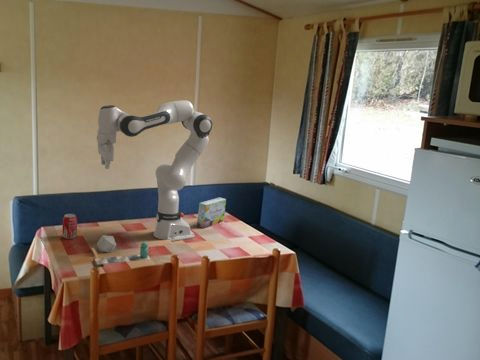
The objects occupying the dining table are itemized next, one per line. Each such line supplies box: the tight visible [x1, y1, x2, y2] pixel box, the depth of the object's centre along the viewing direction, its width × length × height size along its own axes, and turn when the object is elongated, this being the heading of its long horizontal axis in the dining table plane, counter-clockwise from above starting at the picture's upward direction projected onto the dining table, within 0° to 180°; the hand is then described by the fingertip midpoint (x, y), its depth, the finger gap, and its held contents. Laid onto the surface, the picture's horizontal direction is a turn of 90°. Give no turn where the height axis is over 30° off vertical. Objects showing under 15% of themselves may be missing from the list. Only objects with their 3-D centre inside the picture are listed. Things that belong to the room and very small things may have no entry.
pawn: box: [139, 241, 149, 259], centre depth 226 cm, size 4×4×8 cm
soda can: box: [62, 213, 78, 240], centre depth 244 cm, size 7×7×12 cm
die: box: [96, 235, 117, 253], centre depth 231 cm, size 8×9×10 cm
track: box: [92, 254, 151, 268], centre depth 222 cm, size 26×7×1 cm, turn 117°
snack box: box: [196, 196, 227, 229], centre depth 287 cm, size 21×6×15 cm, turn 147°
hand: (105, 166), depth 232 cm, fingers open, 8 cm apart
